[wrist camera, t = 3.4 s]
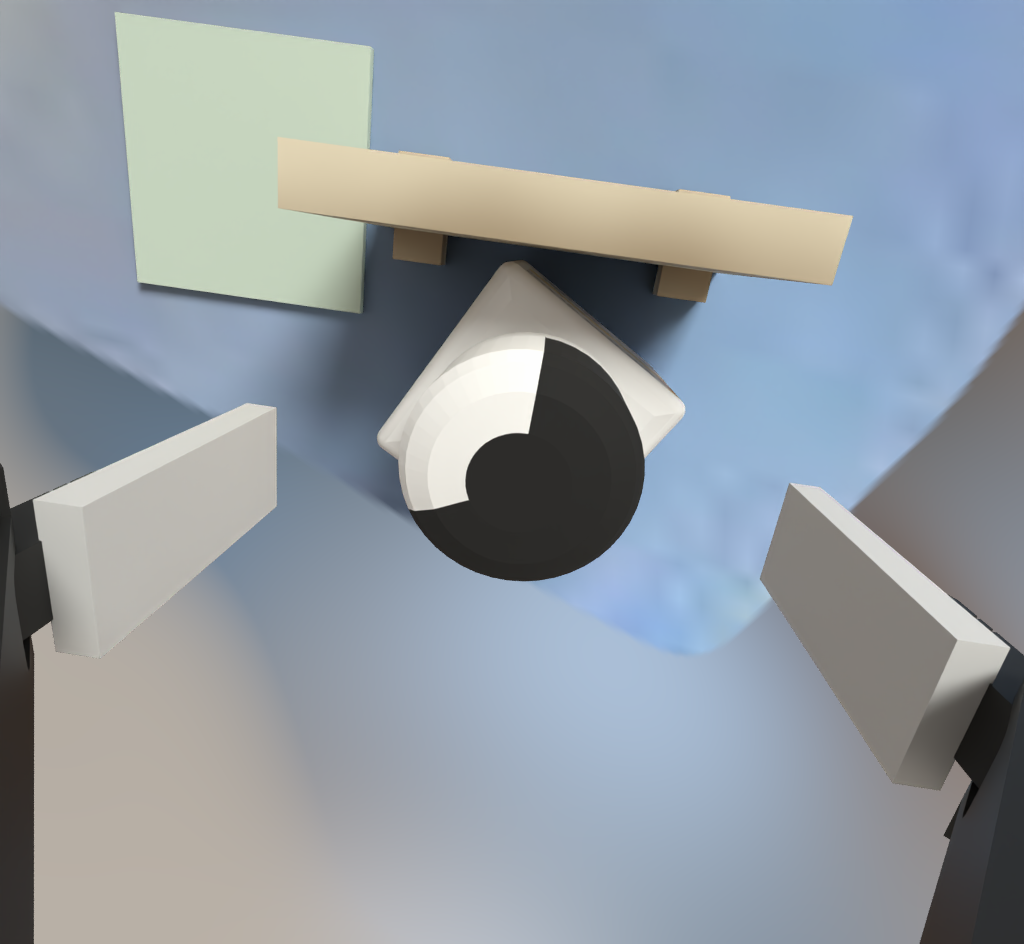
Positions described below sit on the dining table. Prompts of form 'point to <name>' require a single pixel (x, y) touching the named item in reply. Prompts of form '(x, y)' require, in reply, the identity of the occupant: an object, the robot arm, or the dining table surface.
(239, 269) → the mat
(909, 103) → the dining table surface
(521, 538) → the container
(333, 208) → the screen
